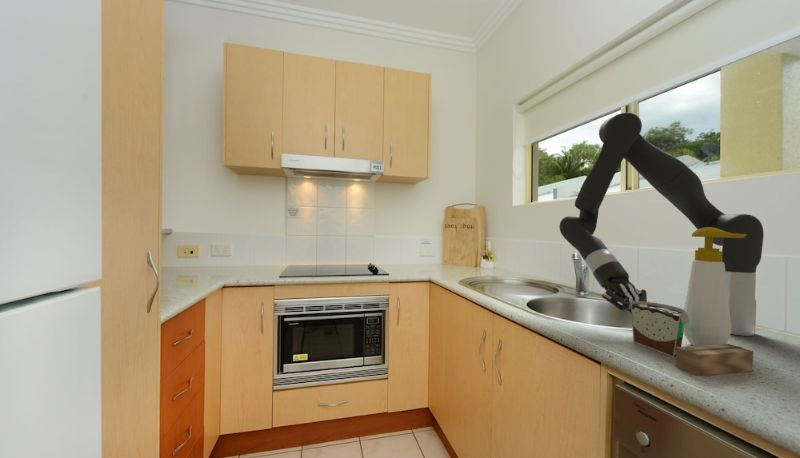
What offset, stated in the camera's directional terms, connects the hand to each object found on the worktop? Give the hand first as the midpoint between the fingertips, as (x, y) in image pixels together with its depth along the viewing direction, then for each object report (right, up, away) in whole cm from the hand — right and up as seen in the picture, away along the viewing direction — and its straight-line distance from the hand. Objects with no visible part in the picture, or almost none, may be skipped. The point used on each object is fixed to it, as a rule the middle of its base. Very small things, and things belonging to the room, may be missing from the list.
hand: (645, 323), depth 78 cm
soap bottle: (+13, -5, -4) cm, 14 cm away
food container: (+1, -5, -4) cm, 7 cm away
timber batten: (+2, -5, -15) cm, 16 cm away
